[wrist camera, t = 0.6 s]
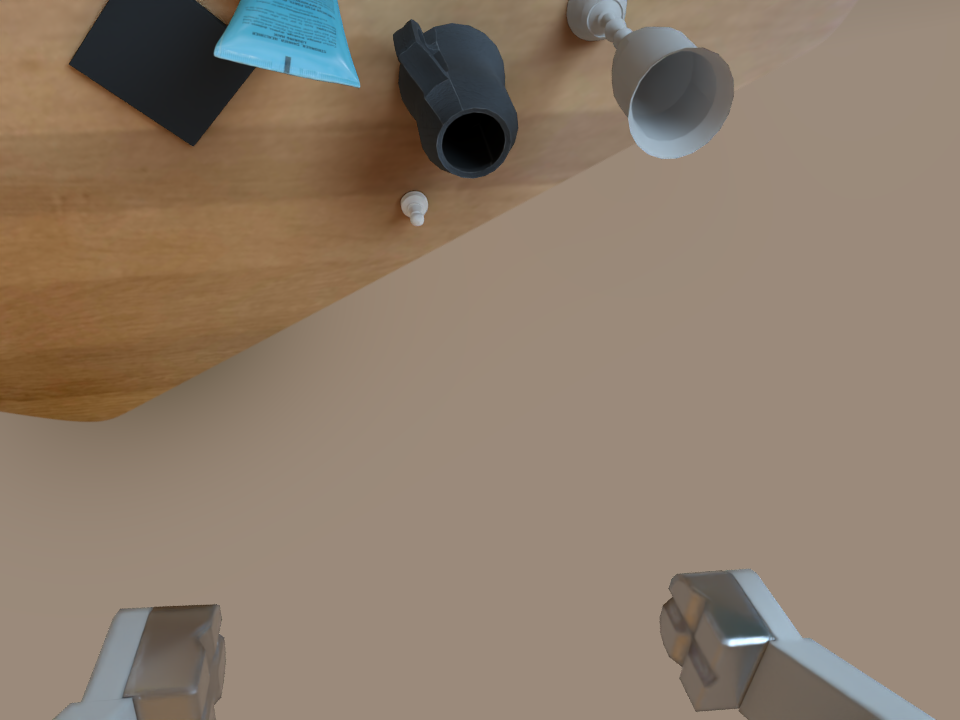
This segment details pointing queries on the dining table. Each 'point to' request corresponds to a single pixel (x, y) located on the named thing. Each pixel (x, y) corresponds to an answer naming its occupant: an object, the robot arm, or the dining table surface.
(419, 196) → the chess pawn
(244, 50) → the tube
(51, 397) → the dining table surface
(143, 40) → the coaster
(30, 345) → the dining table surface
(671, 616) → the robot arm
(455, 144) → the mug
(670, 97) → the chalice
